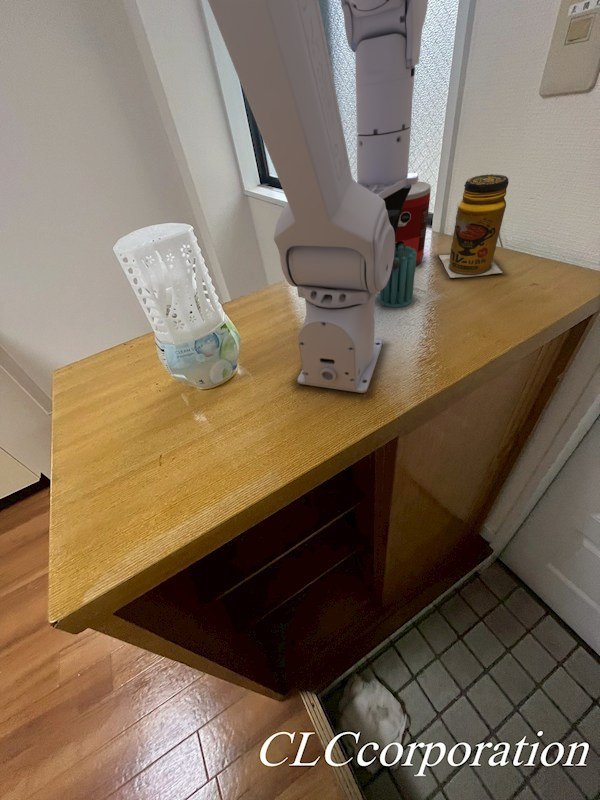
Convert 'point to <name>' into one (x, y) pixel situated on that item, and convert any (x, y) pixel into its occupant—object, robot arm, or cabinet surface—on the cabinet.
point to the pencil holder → (400, 279)
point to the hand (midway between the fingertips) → (380, 256)
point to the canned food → (414, 219)
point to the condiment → (477, 227)
